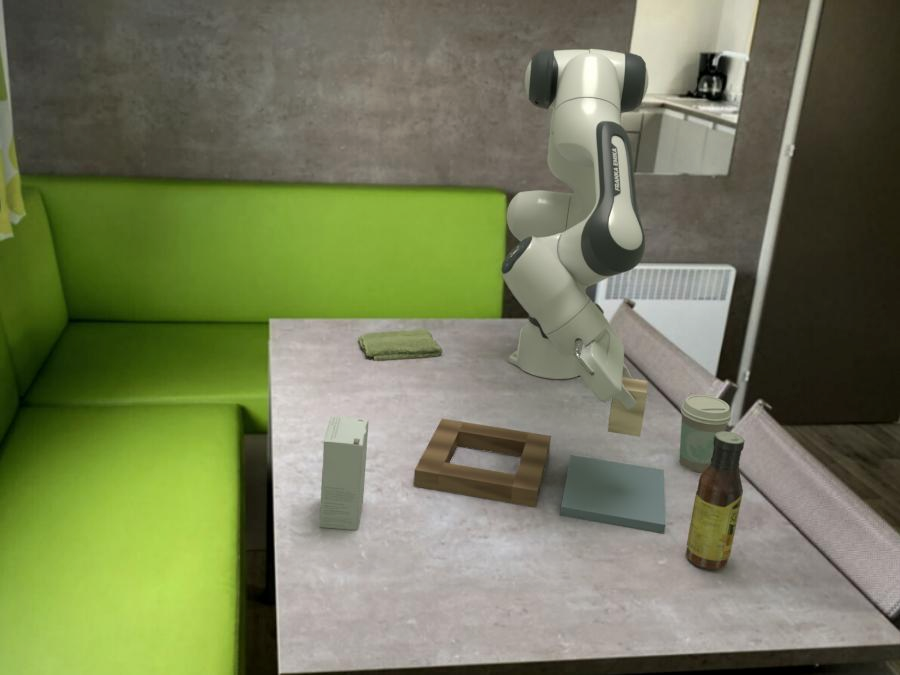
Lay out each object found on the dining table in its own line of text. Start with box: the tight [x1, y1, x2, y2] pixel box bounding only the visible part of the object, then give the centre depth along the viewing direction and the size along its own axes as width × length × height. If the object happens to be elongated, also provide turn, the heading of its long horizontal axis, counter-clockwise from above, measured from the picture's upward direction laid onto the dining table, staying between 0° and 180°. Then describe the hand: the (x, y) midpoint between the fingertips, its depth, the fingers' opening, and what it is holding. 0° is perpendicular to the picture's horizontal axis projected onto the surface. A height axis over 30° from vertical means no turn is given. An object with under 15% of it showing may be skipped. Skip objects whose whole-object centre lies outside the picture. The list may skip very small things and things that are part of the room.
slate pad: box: [559, 454, 666, 534], centre depth 143 cm, size 18×16×2 cm
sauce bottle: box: [685, 430, 745, 571], centre depth 125 cm, size 6×6×20 cm
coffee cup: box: [678, 394, 732, 473], centre depth 154 cm, size 9×9×12 cm
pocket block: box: [413, 417, 552, 508], centre depth 148 cm, size 20×20×3 cm
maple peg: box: [607, 377, 648, 437], centre depth 138 cm, size 5×5×8 cm
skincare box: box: [319, 415, 369, 531], centre depth 129 cm, size 8×6×15 cm
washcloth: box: [357, 328, 443, 362], centre depth 197 cm, size 13×18×3 cm
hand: (633, 397), depth 137 cm, fingers closed on maple peg, 5 cm apart
